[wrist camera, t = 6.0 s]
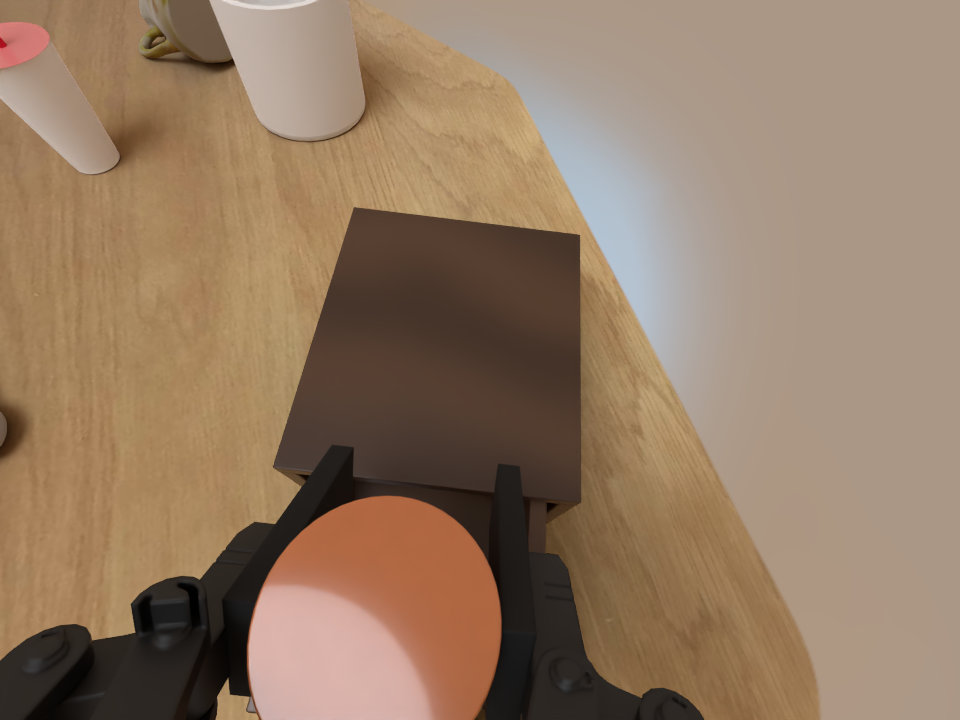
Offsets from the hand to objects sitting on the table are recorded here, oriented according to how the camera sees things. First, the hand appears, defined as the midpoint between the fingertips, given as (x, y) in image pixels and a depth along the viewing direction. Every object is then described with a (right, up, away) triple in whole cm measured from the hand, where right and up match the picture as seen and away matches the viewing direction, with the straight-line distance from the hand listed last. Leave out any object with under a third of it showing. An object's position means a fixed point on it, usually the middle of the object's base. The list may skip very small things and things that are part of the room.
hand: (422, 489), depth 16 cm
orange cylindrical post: (-1, -7, +6) cm, 9 cm away
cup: (-30, +21, +22) cm, 42 cm away
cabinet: (0, +2, +14) cm, 14 cm away
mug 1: (-27, +36, +29) cm, 53 cm away
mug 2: (-14, +29, +27) cm, 42 cm away
